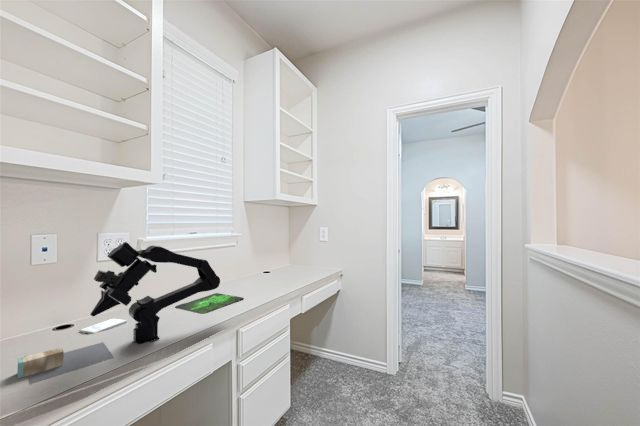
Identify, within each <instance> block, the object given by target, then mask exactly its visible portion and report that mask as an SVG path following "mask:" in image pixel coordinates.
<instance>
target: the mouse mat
mask: <svg viewBox="0 0 640 426" xmlns="http://www.w3.org/2000/svg"><path fill="white" fill-rule="evenodd" d="M242 300H244V297H242V296H241V297H240V296H236V295H230V294H224V293H219V292H215V293H212V294H209V295H206V296H204V297H200V298H197V299H195V300H191V301H188V302H184V303H181V304H178V305H176V306H174V308H175V309H179V310H183V311H187V312H192V313H195V314H196V313H197V314H200V315H203V314H208V313H211V312H214V311H216V310H218V309H222V308H224V307H227V306H230V305H232V304H235V303H238V302H239V301H242Z"/></svg>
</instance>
